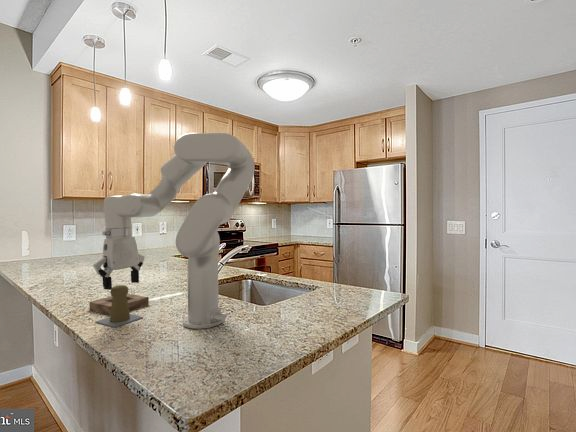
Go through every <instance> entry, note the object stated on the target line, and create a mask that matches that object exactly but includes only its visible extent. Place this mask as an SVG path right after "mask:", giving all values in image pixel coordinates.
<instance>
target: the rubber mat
mask: <svg viewBox="0 0 576 432" xmlns="http://www.w3.org/2000/svg"><path fill="white" fill-rule="evenodd" d="M129 314H130V319H129V320H127V321H123V322H116V323H114V322H110V316H109V317H106V318H102V319H99V320H96V321H95V324H99V325H102V326H105V327H111V328H119V327H122V326H124V325H127V324H131V323H134V322H136V321H139V320H142V319H144V316H140V315H136V314H133V313H132V314H131V313H129Z"/></svg>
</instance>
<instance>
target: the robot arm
mask: <svg viewBox="0 0 576 432" xmlns="http://www.w3.org/2000/svg"><path fill="white" fill-rule="evenodd" d="M173 151H174V155H173V156H172V157H170V159H168V160H167V161H166V162H165V163H163V165H162V166H161V167H160V174H161V179H160V180H159V183H158V184H157V186H155V187H154V188H153V189H152V190H151V191H150V192H149V193H145V194H144V193H131V194H125V195H110V196H106V197H105V198H104V199H103V206H104V210H103V211H104V223H105V224H104V225H105V230H104V231H102V236H104V237H105V238H104V240H103V245H102V258H101V259H100V260H98V261H97V262H95V263H94V264H93V265H92V266H93V268H94V270H95V272H96V273H97V274H98V275H99V276H100V278H102V287H103V290H108V291H109V290H110V291H111V289H112V288H113V282H112V277H111V274H112V273H113V271H117V270H123V269H128V268H130V269H131V271H130V282H131V283H134V284H139V283H140V273H139V272H140V271H141V267H142V266H143V264H144V261H145V258H146V257H145V256H144V255H141V254H139V249H138V244H137V241H136V238H135V236H133V230H132V218H147V217H154V216H156V215H158V214H159V213H161V212H162V211H163V210H164V209H166V208H167V207H168V205H170V204H171V203H172V202H173V200H175V198H176V197H177V195H178V193H179V191H180V189H181V187H183V185H184V184H186V183H187V181H189V180H190V179H191V178H192V177H193V176H194V175H195V174H197V173H198V172H199V171H201V169H202V168H203V167H204V166H205V165H207V164H208V163H222V164H224V165H226V166H227V167H228V168H227V171H226V172H225V173H224V174H223V176H222V177H221V178H220V180H219V182H218V184H217V186H216V188H215V189H214V191H213V192H212V193H206V194H204V195H202V196H200V197H199V198H198V199H197V200H196V201H195V202H194V204H192V207H191V208H190V211H189V212H188V214H187V215H186V217H185V218H184V221H183V223H182V224H181V226H180V228H179V229H178V231H177V233H176V238H175V247H176V249H177V252H179V254H181V256H183V257H186V258H188V260H187V316H186V317H185V318H183V320H182V324H183V326H184V327H186V328H188V329H195V330H196V329H198V330H199V329H200V330H202V329H210V328H213V327H217V326H219V325H221V324H222V323H224V322H225V321H226V319H227V318H228V314H227V313H224V312H222V307H219V254H220V244H221V238H220V234H219V232H218V228H219V227H220V225H223V224H226V223H228V222H229V221H230V220H231V219H232V217H233V215H234V213H235V211H236V209H237V208H238V207H239V204H240V202H241V201H242V199H243V197H244V195H245V193H246V191H247V190H248V189H249V187H250V184H251V183H252V180H253V178H254V174H255V160H254V158H253V155H252V153H251V152H250V150H249V148H248V147H247V146H246V145H245V144H244V143H243V142H242V141H241V140H240V139H238V138H237V137H236V136H234V135H233V134H230V133H225V132H189V133H184V134H182V135H180V136H179V137H178V138H177V139H176V140H175V142H174V147H173ZM102 268H103V269H102Z"/></svg>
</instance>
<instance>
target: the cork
mask: <svg viewBox="0 0 576 432" xmlns="http://www.w3.org/2000/svg"><path fill="white" fill-rule="evenodd" d="M127 294H129V287H128V286H127V285H124V284H123V285H122V284H120V285H115V286H112V289H111V290H110V297H111V296H112V297H113V298H112V305H111V313H110V315H109V317H110V322H114V323H116V322H123V321H127V320H129V319H130V314H131V313H130V311H129V307H128V301H127Z"/></svg>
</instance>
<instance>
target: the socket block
mask: <svg viewBox="0 0 576 432" xmlns="http://www.w3.org/2000/svg"><path fill="white" fill-rule="evenodd" d="M112 298H113V297H112V296H111V295H110V296H108V297H107V296H106V297H103V298H100V299H96V300H91V301H89V305H88V306H89V311H90V312H95V313H100V314H104V315H109V316H110V313H111V305H112ZM127 301H128V307H129V312H130V311H131V312H132V311H133V310H137V309H141V308H144V307H147V306H149V304H150V303H149V297H148V296H145V295H144V296H143V295H137V294H132V293H128V294H127Z"/></svg>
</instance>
